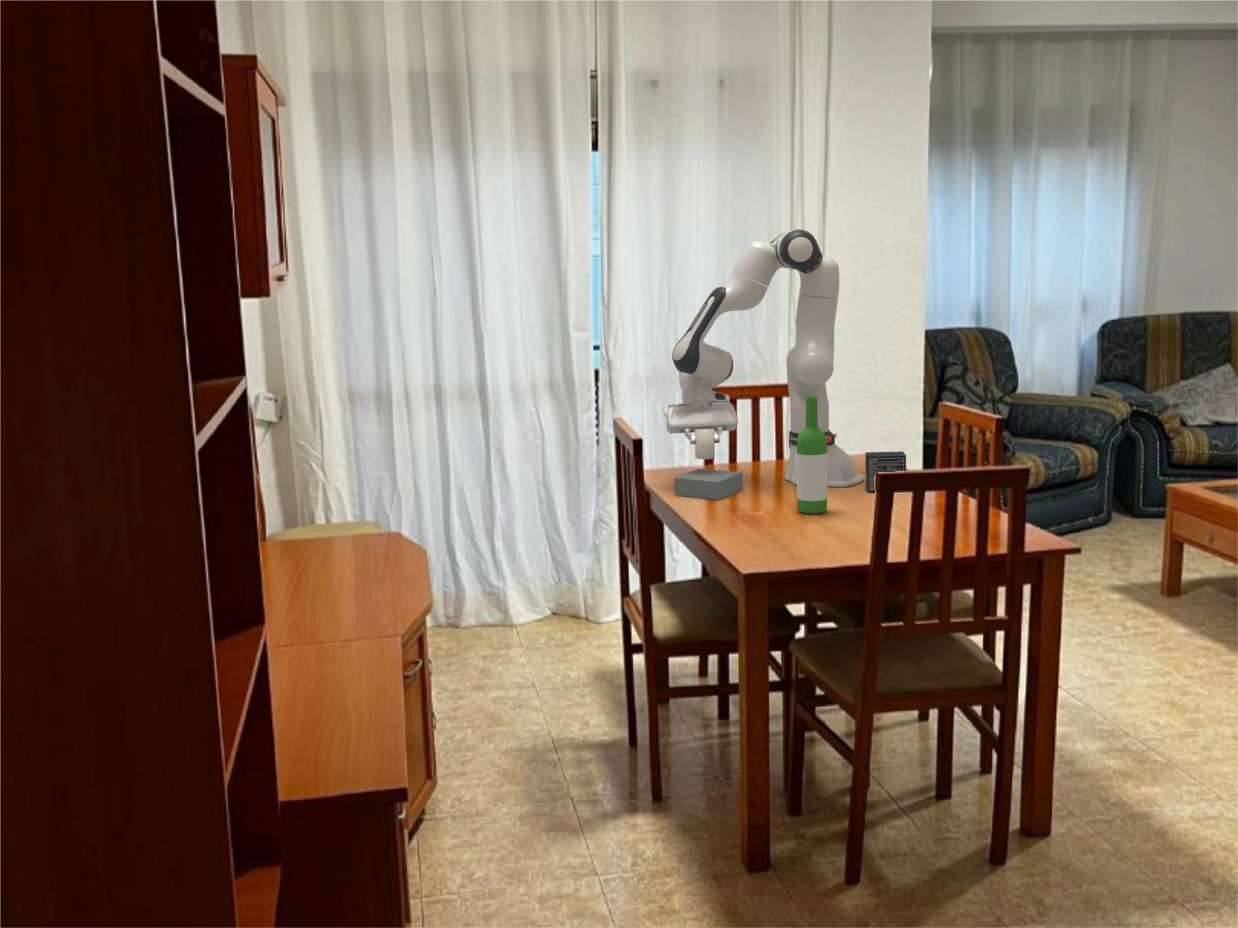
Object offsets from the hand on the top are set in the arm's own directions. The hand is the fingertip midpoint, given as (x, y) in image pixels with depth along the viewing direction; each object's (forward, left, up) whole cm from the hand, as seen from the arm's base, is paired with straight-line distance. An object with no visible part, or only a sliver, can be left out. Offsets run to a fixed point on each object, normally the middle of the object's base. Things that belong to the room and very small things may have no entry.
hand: (705, 442), depth 330 cm
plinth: (-2, +2, -14) cm, 14 cm away
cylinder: (0, 0, -4) cm, 4 cm away
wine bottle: (-37, +10, -14) cm, 41 cm away
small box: (-45, -21, -14) cm, 52 cm away
